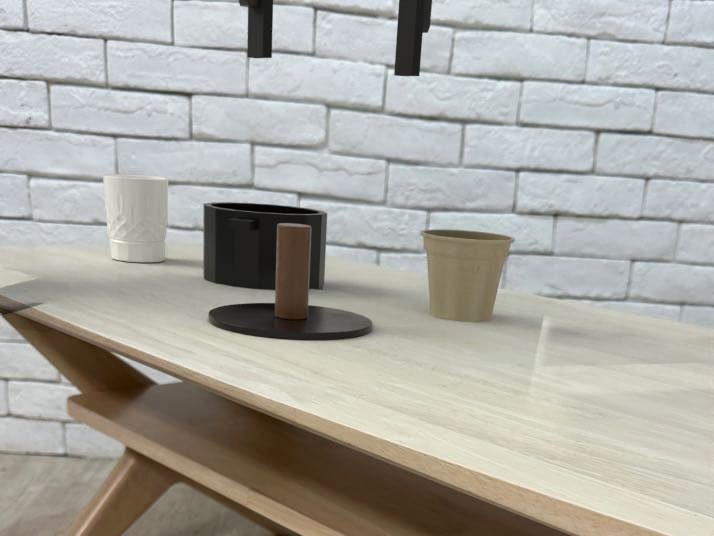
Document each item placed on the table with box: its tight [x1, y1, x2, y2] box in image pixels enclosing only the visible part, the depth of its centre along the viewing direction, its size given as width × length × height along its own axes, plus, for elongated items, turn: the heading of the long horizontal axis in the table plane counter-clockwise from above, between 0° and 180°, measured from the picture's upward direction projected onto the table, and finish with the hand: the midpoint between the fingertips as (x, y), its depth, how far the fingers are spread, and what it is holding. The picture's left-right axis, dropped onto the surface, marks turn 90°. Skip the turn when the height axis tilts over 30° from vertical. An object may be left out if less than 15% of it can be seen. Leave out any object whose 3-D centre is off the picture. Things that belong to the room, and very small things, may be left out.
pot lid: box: [207, 223, 373, 341], centre depth 89 cm, size 15×15×9 cm
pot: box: [202, 201, 328, 291], centre depth 113 cm, size 14×19×8 cm
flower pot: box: [419, 228, 516, 323], centre depth 100 cm, size 9×9×9 cm
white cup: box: [102, 173, 169, 264], centre depth 126 cm, size 8×8×10 cm
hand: (336, 67), depth 80 cm, fingers open, 13 cm apart
